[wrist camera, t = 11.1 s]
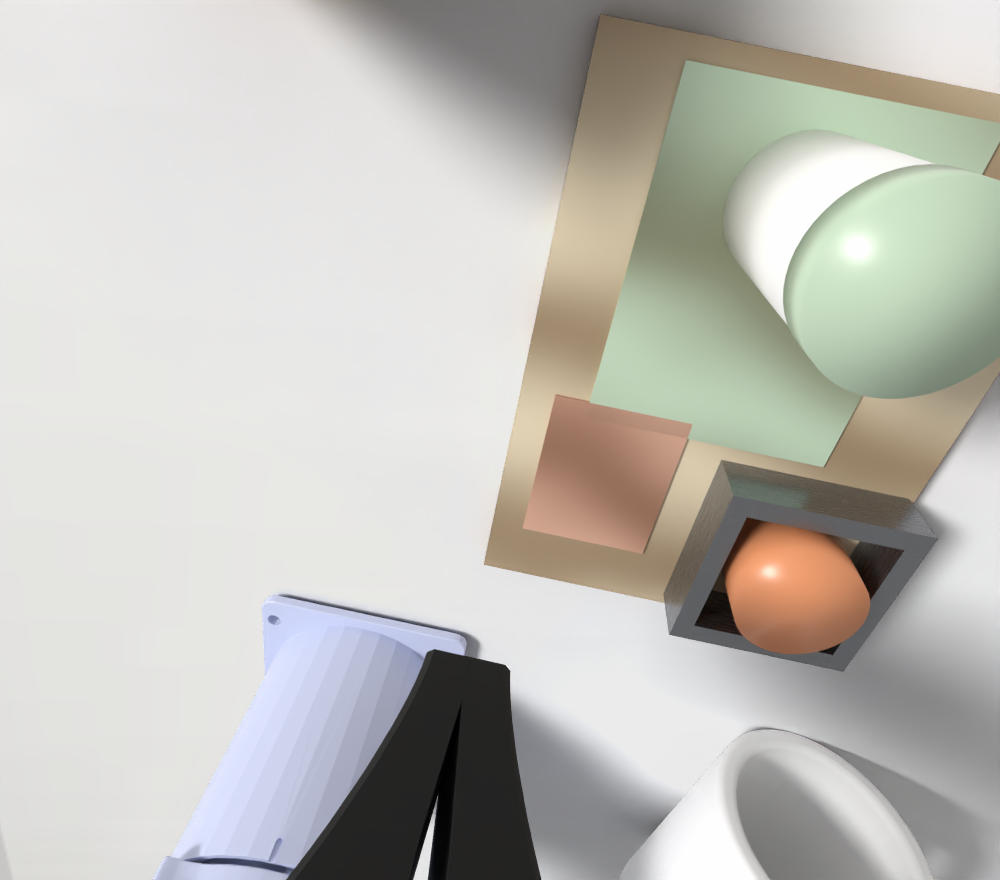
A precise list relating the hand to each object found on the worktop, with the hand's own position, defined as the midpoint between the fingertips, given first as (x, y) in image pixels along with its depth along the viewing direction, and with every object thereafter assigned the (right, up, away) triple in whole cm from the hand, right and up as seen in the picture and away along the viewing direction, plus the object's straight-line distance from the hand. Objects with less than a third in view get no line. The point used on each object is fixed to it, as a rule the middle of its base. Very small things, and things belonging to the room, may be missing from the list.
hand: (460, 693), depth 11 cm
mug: (+13, -12, +17) cm, 25 cm away
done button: (+9, +1, +9) cm, 13 cm away
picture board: (+7, +6, +7) cm, 12 cm away
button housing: (+10, +1, +9) cm, 13 cm away
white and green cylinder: (+8, +10, +4) cm, 13 cm away
